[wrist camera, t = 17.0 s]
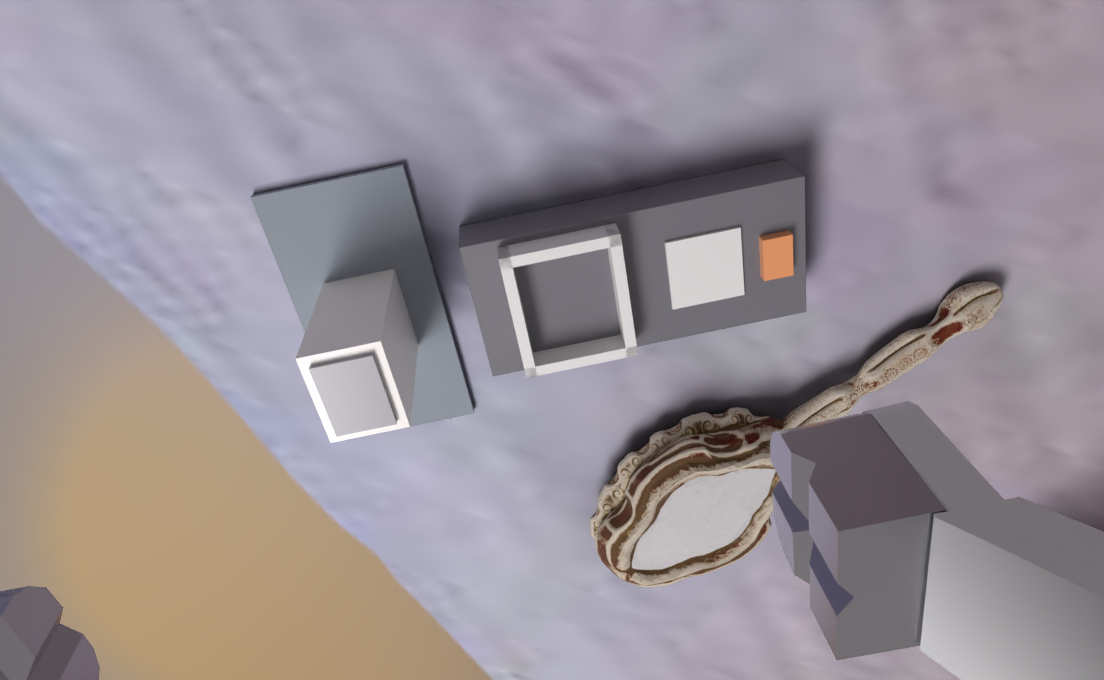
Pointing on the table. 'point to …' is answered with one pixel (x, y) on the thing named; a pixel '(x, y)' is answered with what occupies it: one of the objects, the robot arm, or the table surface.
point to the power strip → (637, 268)
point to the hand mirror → (739, 464)
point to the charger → (360, 356)
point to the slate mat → (368, 266)
